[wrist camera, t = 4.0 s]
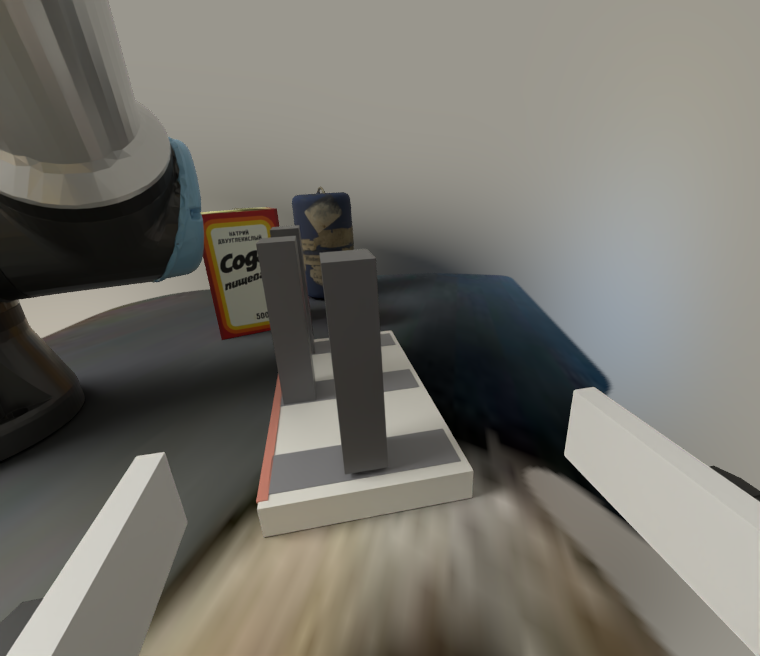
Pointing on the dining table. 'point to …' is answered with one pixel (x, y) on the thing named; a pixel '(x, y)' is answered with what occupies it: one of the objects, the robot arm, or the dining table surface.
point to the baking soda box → (237, 268)
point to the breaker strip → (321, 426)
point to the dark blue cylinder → (322, 231)
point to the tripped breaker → (356, 356)
